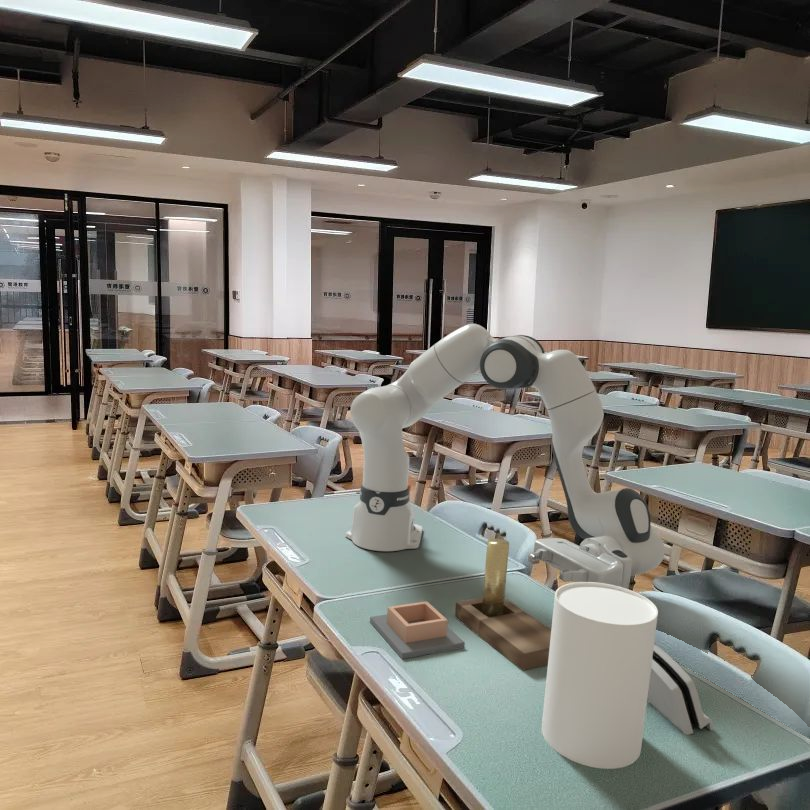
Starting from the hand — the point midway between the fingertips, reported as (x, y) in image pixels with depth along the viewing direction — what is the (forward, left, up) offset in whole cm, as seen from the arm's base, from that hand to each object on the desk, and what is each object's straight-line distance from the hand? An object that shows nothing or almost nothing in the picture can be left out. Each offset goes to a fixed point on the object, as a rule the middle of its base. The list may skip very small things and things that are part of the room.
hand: (545, 567), depth 134 cm
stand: (+18, -20, -10) cm, 29 cm away
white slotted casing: (+24, +20, -10) cm, 33 cm away
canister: (+37, +11, -10) cm, 40 cm away
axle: (+8, -8, -10) cm, 15 cm away
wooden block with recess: (+12, -5, -10) cm, 16 cm away
